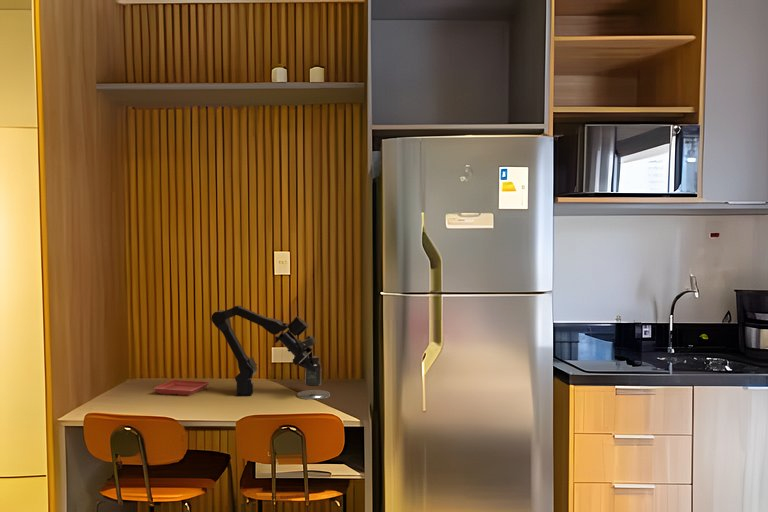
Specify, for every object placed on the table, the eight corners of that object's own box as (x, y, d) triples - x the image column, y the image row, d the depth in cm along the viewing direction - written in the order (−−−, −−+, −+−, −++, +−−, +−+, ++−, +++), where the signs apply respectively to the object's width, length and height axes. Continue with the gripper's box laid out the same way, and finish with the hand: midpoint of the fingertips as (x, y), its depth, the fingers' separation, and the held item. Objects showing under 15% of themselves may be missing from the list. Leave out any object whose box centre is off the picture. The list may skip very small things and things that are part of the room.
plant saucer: (210, 388, 299) (210, 381, 299) (191, 397, 281) (191, 389, 281) (173, 386, 302) (173, 379, 302) (152, 395, 284) (152, 388, 284)
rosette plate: (297, 400, 275) (297, 397, 275) (297, 392, 289) (297, 390, 289) (330, 399, 277) (330, 396, 277) (329, 391, 291) (329, 389, 291)
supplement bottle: (309, 382, 287) (310, 355, 287) (323, 383, 285) (324, 356, 285) (302, 385, 281) (302, 357, 281) (316, 386, 278) (316, 358, 278)
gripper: (300, 333, 273) (326, 360, 273) (308, 327, 292) (332, 352, 291) (281, 351, 274) (307, 378, 274) (290, 344, 293) (315, 370, 292)
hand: (316, 369), depth 283 cm, fingers closed on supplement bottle, 7 cm apart
